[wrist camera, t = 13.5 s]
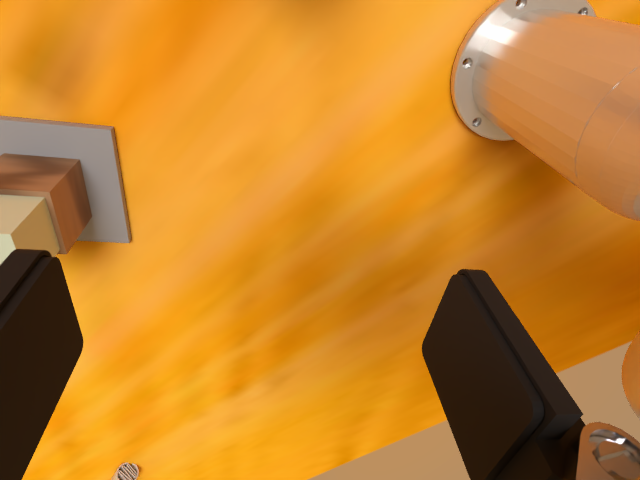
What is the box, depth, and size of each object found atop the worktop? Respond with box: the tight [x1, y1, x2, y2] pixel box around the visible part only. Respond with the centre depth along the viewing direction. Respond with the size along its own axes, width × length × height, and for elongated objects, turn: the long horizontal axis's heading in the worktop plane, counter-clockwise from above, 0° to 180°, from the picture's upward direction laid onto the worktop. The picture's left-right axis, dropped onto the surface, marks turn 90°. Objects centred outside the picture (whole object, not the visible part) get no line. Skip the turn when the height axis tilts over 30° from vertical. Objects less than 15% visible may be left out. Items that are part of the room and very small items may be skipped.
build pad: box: [0, 116, 131, 243], centre depth 37 cm, size 12×12×1 cm
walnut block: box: [0, 153, 92, 254], centre depth 34 cm, size 6×6×6 cm
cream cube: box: [0, 195, 60, 265], centre depth 29 cm, size 5×5×5 cm
